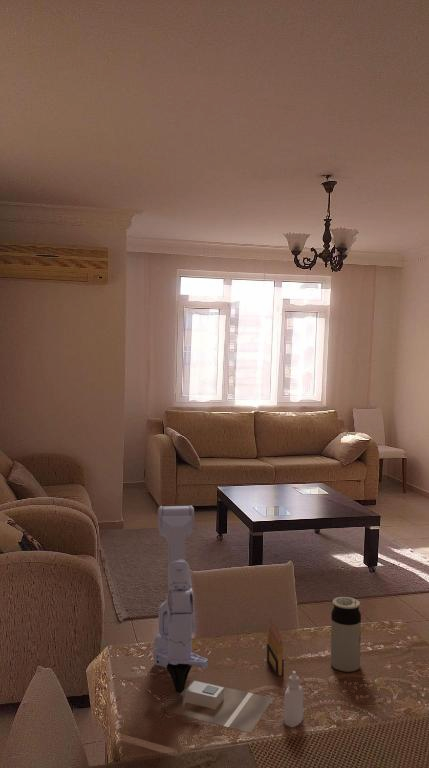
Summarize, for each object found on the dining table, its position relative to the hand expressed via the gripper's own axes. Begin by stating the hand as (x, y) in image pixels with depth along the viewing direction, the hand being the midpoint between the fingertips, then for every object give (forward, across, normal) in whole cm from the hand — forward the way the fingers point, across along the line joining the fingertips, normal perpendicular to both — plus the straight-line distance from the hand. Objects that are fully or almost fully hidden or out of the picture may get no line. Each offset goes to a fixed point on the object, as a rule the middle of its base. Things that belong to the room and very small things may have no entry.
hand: (180, 690), depth 165 cm
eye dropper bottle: (+2, +29, +2) cm, 29 cm away
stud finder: (+1, +7, 0) cm, 7 cm away
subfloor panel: (+2, +10, 0) cm, 10 cm away
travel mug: (+2, +34, +34) cm, 48 cm away
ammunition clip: (+2, +17, +24) cm, 29 cm away
